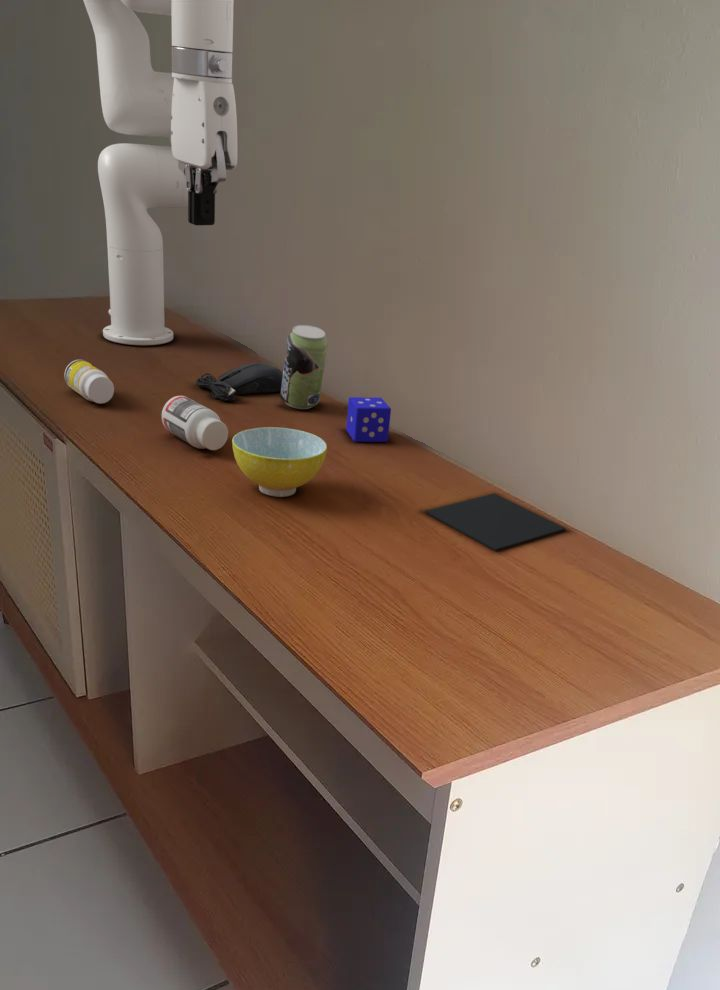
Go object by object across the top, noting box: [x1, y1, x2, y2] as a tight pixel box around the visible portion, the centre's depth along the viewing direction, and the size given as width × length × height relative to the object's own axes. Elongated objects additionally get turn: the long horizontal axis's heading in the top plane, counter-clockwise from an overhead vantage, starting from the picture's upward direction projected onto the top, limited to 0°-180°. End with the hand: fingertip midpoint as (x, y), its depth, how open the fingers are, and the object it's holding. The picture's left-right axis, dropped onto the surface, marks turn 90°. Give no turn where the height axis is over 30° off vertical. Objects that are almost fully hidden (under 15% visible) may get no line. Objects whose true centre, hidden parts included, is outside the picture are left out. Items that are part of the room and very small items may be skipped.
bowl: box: [231, 426, 328, 498], centre depth 114 cm, size 11×12×6 cm
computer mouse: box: [194, 362, 283, 402], centre depth 149 cm, size 10×15×4 cm
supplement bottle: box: [64, 359, 115, 405], centre depth 139 cm, size 5×5×8 cm
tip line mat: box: [424, 493, 566, 552], centre depth 113 cm, size 12×12×1 cm
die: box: [345, 396, 392, 443], centre depth 135 cm, size 5×5×5 cm
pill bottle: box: [161, 395, 229, 451], centre depth 126 cm, size 5×5×10 cm
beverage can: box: [279, 324, 329, 410], centre depth 142 cm, size 6×7×12 cm
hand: (201, 223), depth 128 cm, fingers closed
